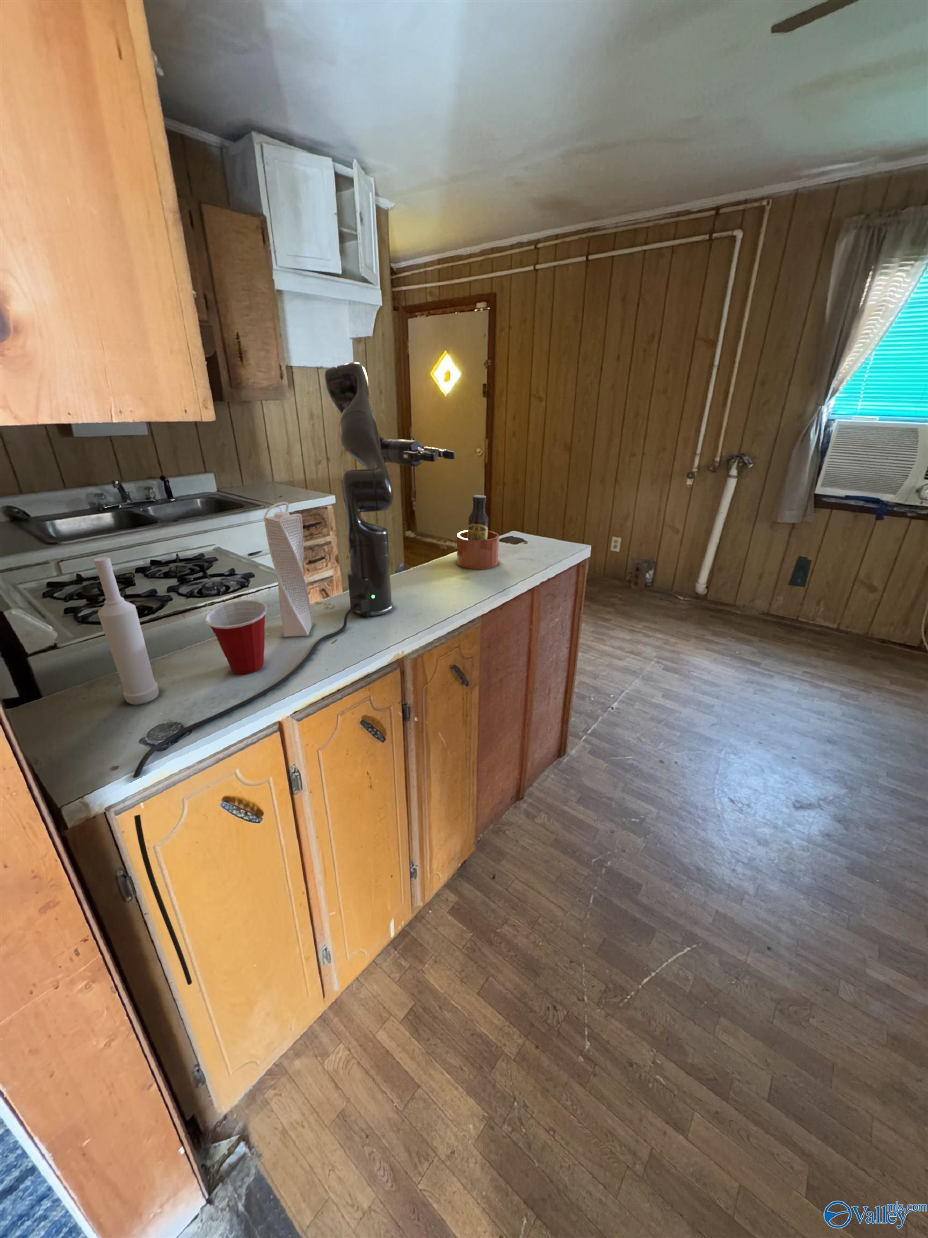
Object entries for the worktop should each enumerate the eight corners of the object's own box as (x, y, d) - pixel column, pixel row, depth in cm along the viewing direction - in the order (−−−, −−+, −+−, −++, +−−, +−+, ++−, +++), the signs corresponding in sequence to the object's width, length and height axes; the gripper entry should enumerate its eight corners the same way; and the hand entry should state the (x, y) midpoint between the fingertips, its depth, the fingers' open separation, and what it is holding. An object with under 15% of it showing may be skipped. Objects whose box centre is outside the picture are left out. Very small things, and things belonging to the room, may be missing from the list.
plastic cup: (203, 677, 94) (189, 618, 89) (242, 651, 103) (231, 596, 98) (252, 686, 91) (240, 626, 86) (288, 658, 100) (279, 603, 95)
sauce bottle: (464, 562, 155) (465, 497, 147) (468, 556, 161) (468, 493, 153) (485, 563, 154) (487, 498, 146) (488, 557, 160) (490, 494, 152)
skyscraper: (285, 623, 115) (267, 501, 104) (318, 622, 116) (303, 500, 105) (277, 639, 108) (256, 509, 97) (313, 637, 109) (296, 508, 97)
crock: (480, 572, 150) (481, 542, 146) (449, 563, 157) (448, 535, 154) (506, 562, 159) (507, 534, 155) (474, 554, 166) (475, 527, 163)
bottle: (123, 708, 84) (77, 565, 74) (128, 692, 89) (85, 556, 78) (158, 701, 86) (118, 561, 76) (161, 686, 90) (124, 552, 80)
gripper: (388, 441, 149) (427, 444, 139) (421, 438, 159) (460, 441, 149) (389, 467, 152) (428, 472, 142) (422, 463, 162) (460, 467, 152)
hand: (444, 456), depth 146 cm, fingers open, 8 cm apart
